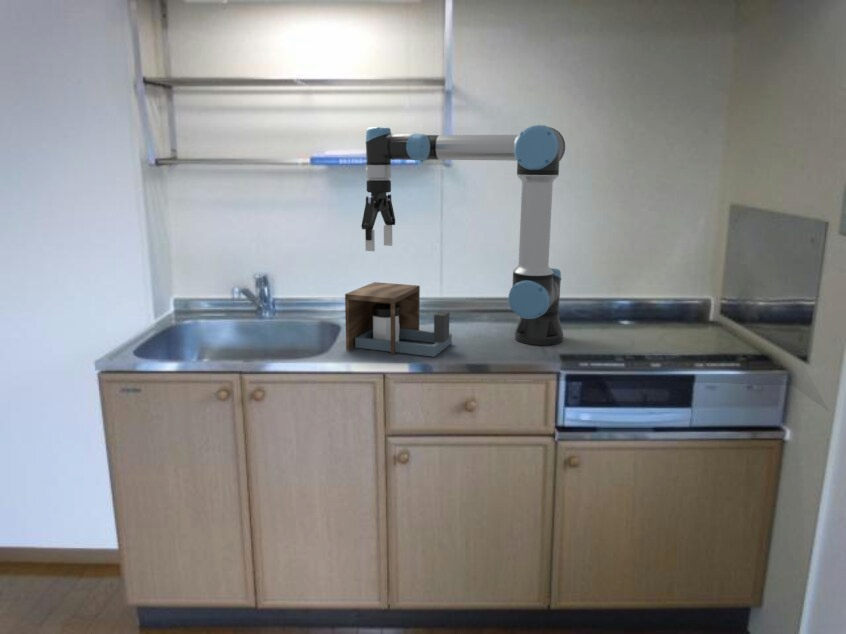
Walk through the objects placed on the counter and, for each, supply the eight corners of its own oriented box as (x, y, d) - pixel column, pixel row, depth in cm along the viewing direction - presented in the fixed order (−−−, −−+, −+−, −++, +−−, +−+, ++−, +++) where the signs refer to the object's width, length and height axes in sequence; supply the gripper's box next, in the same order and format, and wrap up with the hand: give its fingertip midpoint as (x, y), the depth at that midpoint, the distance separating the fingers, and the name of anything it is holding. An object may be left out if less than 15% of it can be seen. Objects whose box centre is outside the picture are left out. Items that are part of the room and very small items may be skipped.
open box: (419, 338, 213) (419, 285, 209) (393, 355, 195) (393, 298, 191) (375, 333, 219) (374, 282, 215) (346, 349, 200) (345, 294, 196)
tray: (454, 343, 207) (454, 308, 204) (437, 357, 193) (437, 319, 190) (376, 334, 216) (376, 301, 213) (355, 347, 202) (354, 311, 199)
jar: (399, 348, 202) (399, 309, 199) (372, 348, 202) (372, 309, 199) (399, 340, 211) (399, 302, 208) (373, 340, 211) (373, 303, 208)
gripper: (384, 177, 219) (384, 242, 224) (349, 180, 196) (350, 252, 201) (405, 178, 216) (405, 243, 221) (372, 180, 194) (373, 254, 199)
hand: (379, 248), depth 211 cm, fingers open, 13 cm apart
